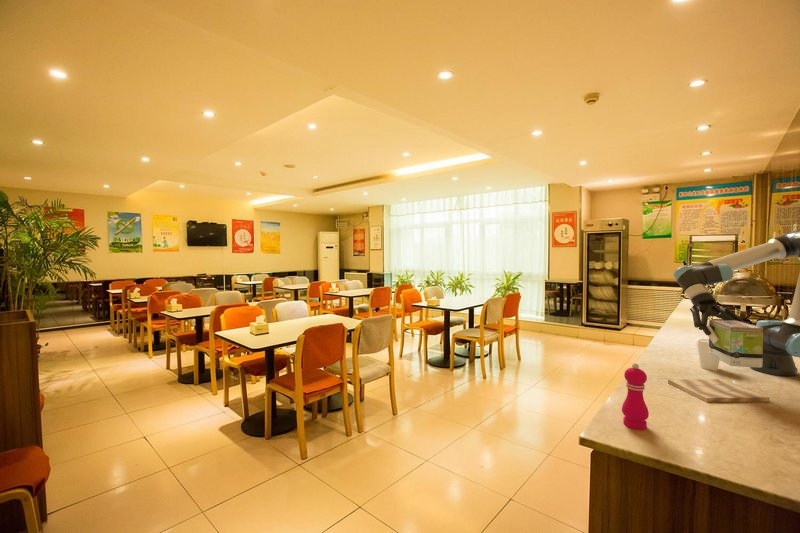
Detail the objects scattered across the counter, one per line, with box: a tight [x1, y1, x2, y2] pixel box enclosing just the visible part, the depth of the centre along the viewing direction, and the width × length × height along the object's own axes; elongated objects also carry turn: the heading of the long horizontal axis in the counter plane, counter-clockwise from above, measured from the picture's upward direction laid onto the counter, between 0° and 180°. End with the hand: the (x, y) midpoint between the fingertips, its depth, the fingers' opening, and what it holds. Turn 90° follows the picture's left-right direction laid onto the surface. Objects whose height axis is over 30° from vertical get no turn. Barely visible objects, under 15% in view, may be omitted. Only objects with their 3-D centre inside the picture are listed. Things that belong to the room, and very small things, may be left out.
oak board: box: [667, 378, 771, 403], centre depth 141 cm, size 23×19×2 cm
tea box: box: [708, 319, 763, 368], centre depth 137 cm, size 15×10×15 cm, turn 164°
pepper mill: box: [621, 362, 650, 431], centre depth 115 cm, size 7×7×20 cm
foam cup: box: [696, 337, 720, 371], centre depth 169 cm, size 10×9×13 cm
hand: (732, 341), depth 139 cm, fingers closed on tea box, 12 cm apart
